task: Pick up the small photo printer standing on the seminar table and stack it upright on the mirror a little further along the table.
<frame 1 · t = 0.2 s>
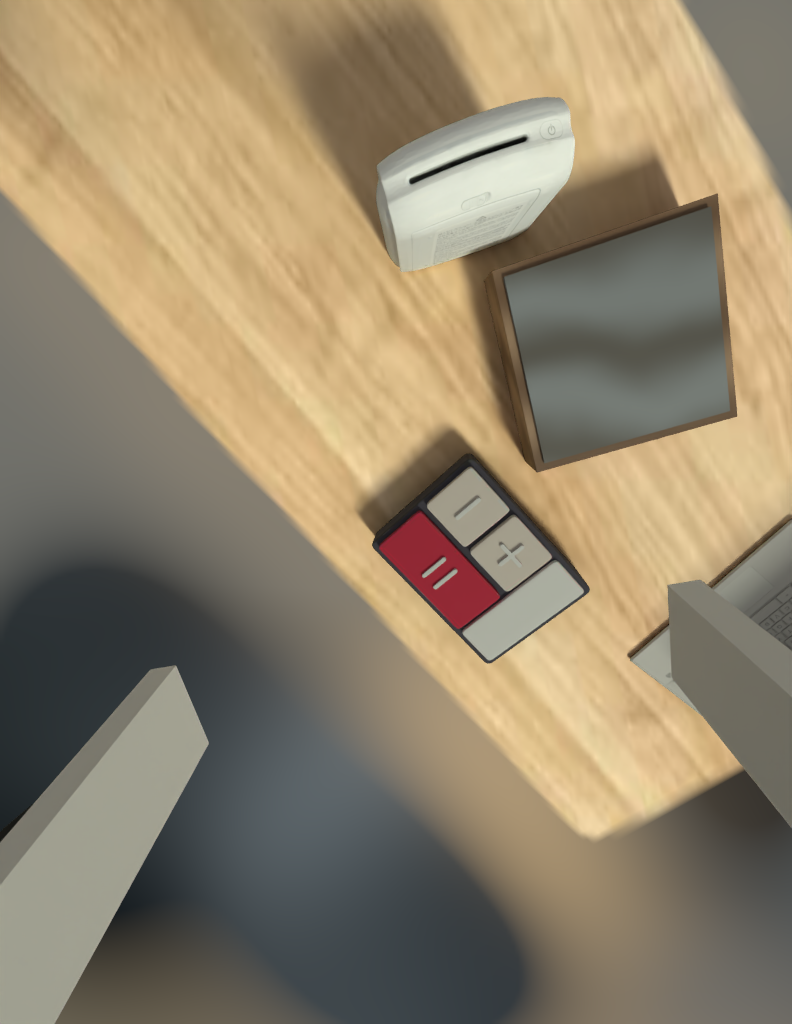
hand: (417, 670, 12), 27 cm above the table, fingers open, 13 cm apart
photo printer: (456, 227, 33), on the table
mirror: (597, 347, 35), on the table
laptop: (748, 627, 42), on the table
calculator: (476, 551, 41), on the table
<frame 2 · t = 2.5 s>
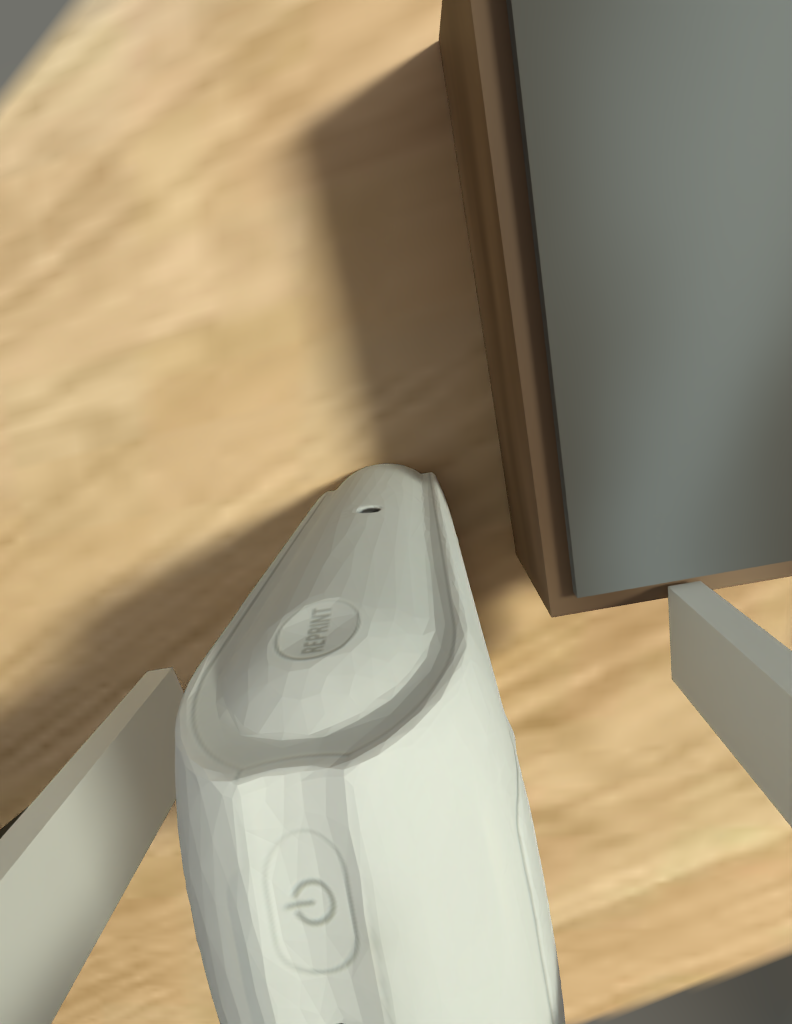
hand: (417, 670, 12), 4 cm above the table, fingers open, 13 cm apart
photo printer: (405, 598, 16), on the table
mirror: (735, 278, 13), on the table
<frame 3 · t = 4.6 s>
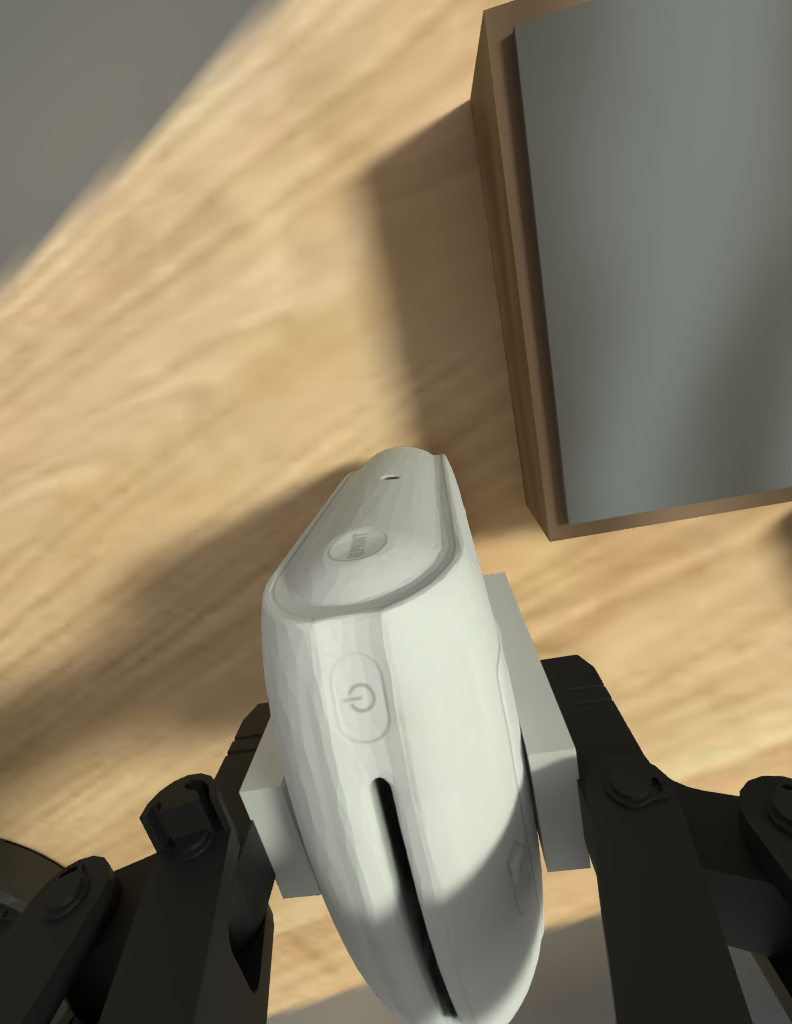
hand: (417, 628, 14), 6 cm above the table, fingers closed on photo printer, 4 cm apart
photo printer: (420, 567, 19), point 2 cm above the table, touching gripper
mirror: (704, 279, 16), on the table
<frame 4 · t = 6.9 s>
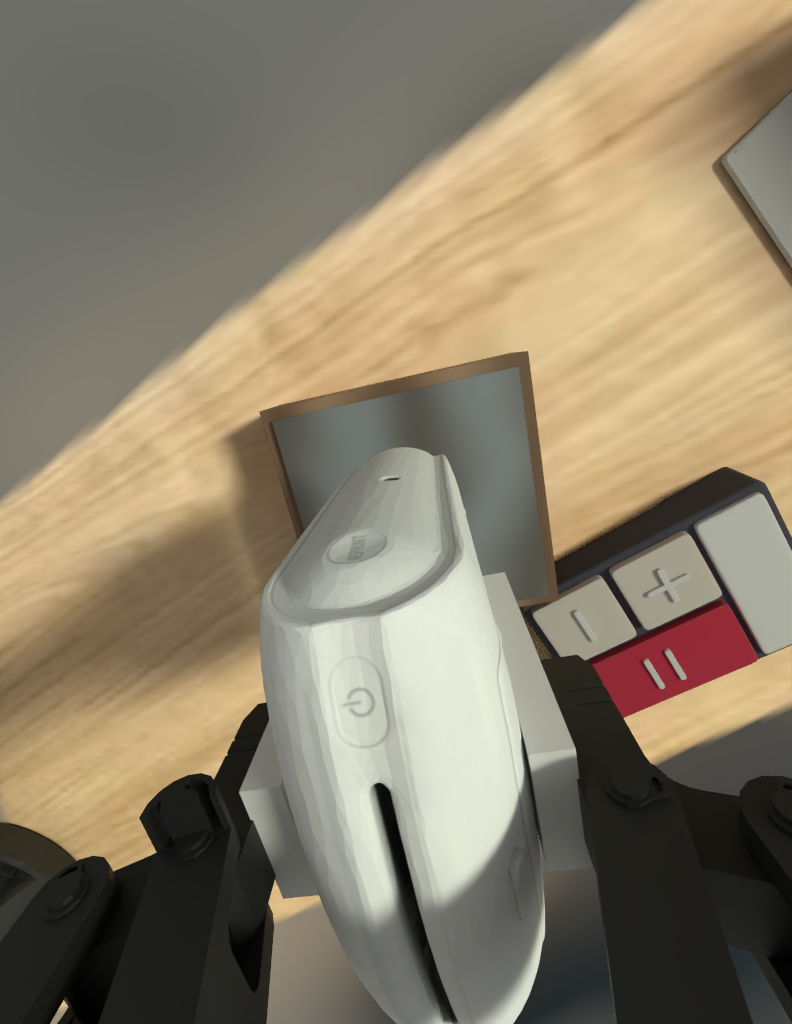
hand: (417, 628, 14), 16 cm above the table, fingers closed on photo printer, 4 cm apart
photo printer: (420, 568, 18), point 11 cm above the table, touching gripper
mirror: (417, 491, 29), on the table
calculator: (647, 589, 31), on the table
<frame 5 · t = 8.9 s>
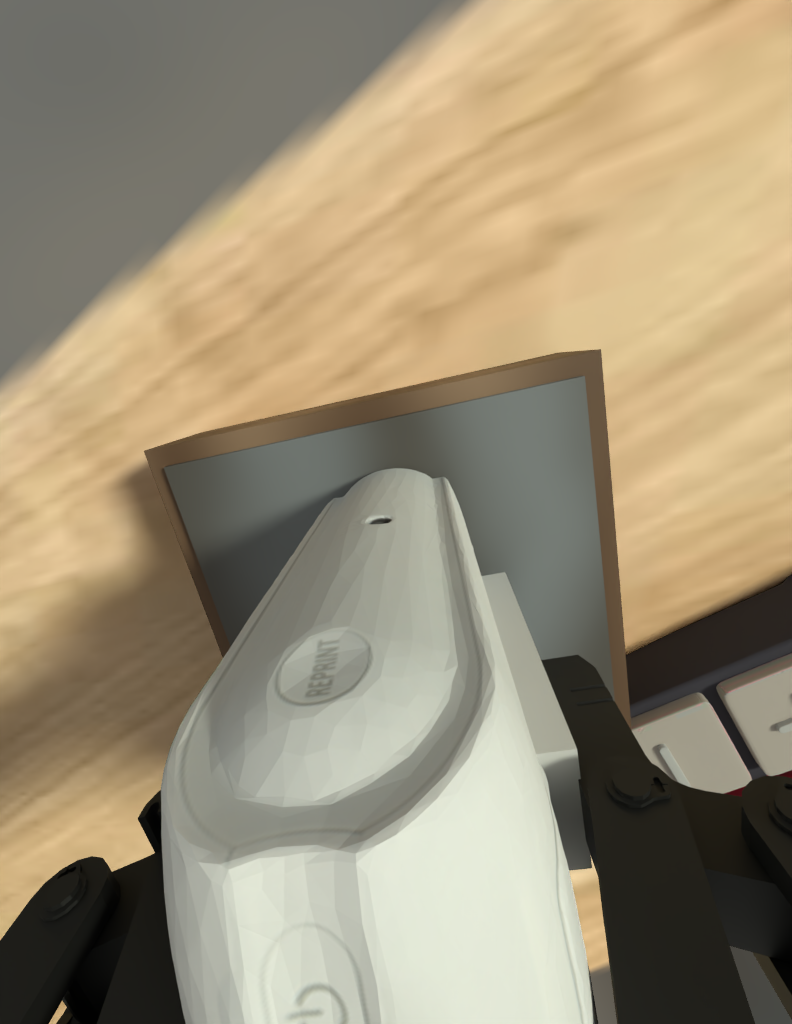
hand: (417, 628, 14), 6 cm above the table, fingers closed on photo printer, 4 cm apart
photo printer: (417, 608, 16), point 4 cm above the table, touching gripper, mirror
mirror: (409, 560, 20), on the table
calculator: (749, 694, 22), on the table
when the fingers open (6 cm above the table, at t = 9.3 s): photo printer stays where it is, resting on mirror.
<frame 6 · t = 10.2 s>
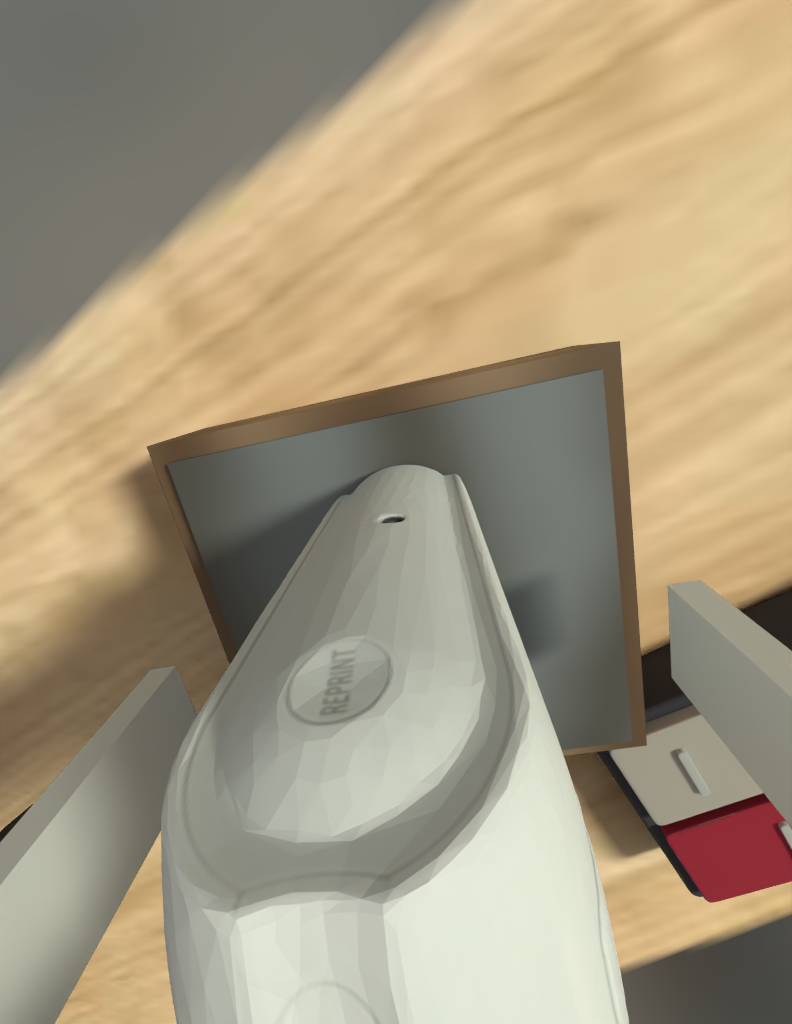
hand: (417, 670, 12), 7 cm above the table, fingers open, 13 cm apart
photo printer: (427, 609, 15), point 4 cm above the table, touching mirror
mirror: (418, 559, 19), on the table
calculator: (768, 697, 21), on the table
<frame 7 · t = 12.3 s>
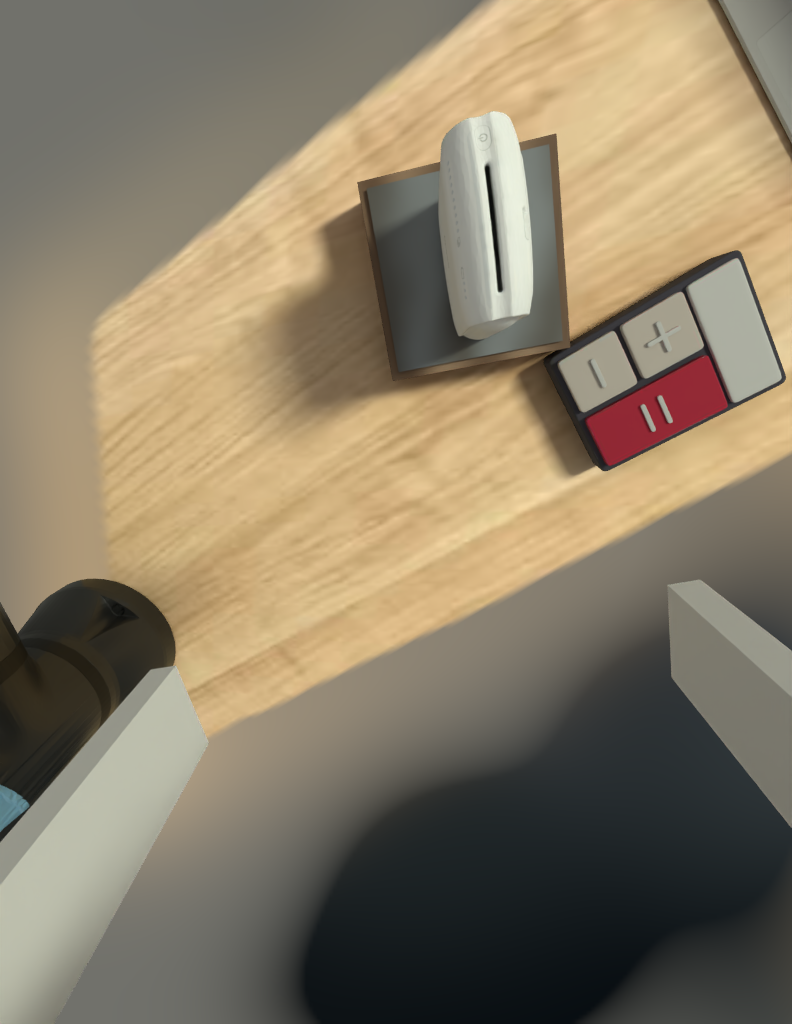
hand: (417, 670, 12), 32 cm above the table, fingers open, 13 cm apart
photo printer: (471, 267, 34), point 4 cm above the table, touching mirror
mirror: (463, 276, 38), on the table
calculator: (647, 368, 40), on the table
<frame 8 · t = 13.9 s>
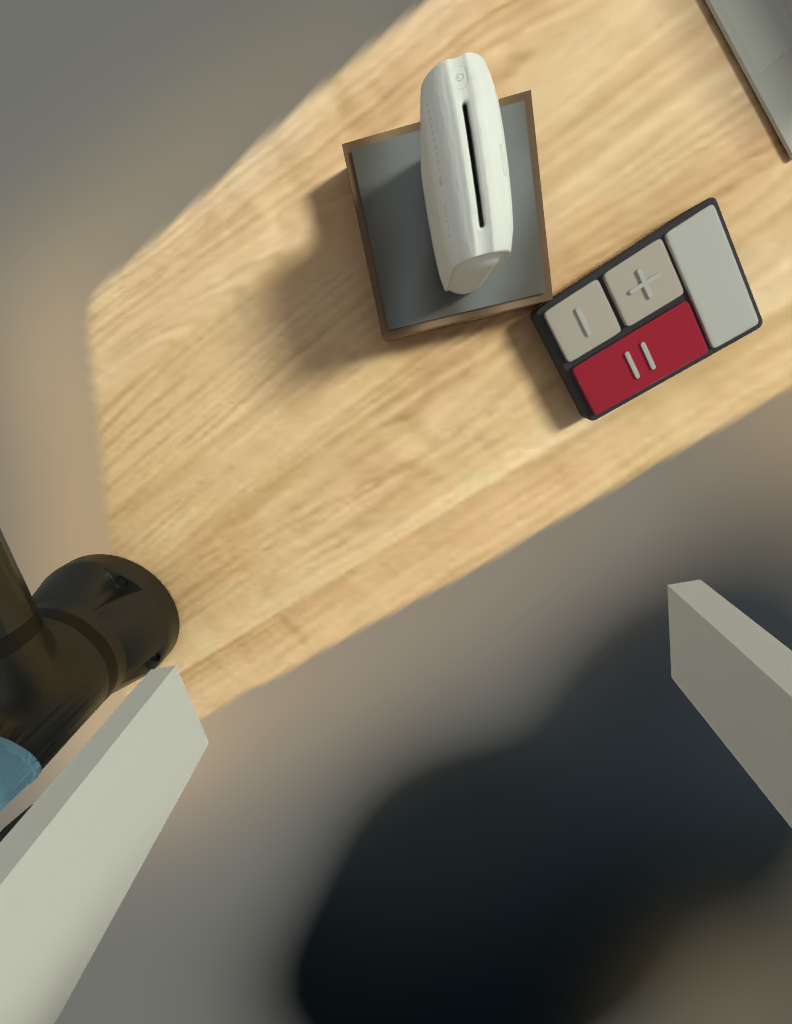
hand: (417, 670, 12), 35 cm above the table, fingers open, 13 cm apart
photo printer: (455, 223, 36), point 4 cm above the table, touching mirror
mirror: (448, 237, 40), on the table
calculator: (630, 320, 41), on the table
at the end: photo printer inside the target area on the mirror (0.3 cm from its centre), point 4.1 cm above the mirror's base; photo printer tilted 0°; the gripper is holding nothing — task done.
